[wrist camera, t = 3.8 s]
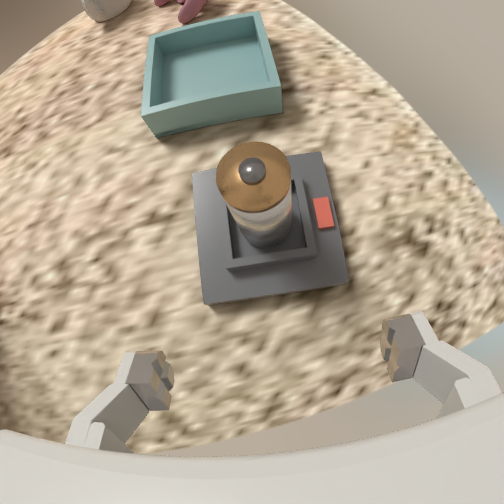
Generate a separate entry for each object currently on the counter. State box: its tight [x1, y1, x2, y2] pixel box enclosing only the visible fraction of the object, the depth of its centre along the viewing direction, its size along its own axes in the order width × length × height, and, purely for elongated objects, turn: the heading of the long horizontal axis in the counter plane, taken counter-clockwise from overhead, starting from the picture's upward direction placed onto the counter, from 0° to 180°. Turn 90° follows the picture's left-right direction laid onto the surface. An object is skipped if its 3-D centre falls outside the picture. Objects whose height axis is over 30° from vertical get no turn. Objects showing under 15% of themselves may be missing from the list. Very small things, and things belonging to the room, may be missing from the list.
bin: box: [141, 11, 283, 138], centre depth 29 cm, size 13×13×4 cm
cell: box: [216, 142, 292, 248], centre depth 21 cm, size 4×4×9 cm
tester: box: [192, 151, 349, 305], centre depth 25 cm, size 11×11×3 cm
